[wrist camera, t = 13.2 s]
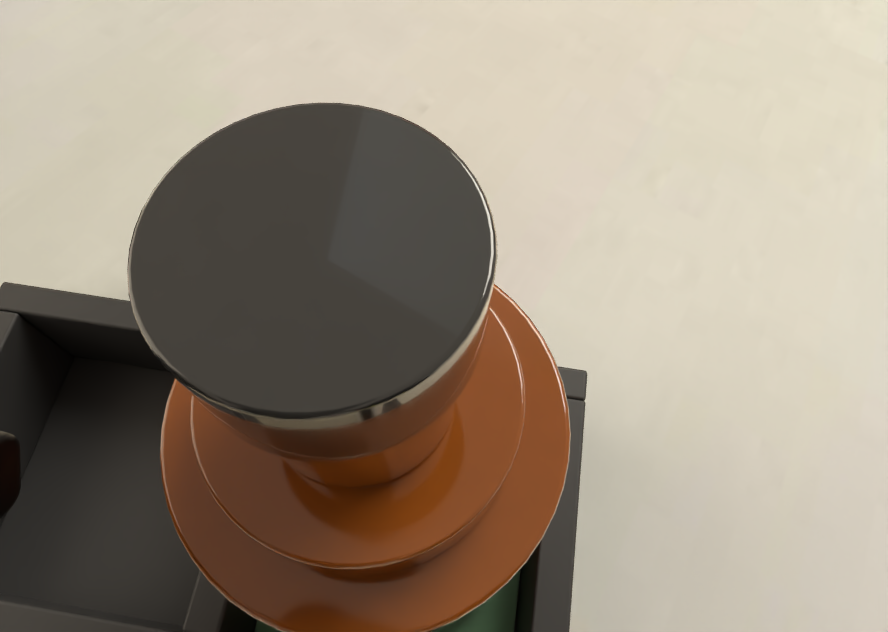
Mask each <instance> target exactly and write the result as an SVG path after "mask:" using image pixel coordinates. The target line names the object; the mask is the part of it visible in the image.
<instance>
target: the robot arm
mask: <svg viewBox="0 0 888 632" xmlns="http://www.w3.org/2000/svg"><path fill="white" fill-rule="evenodd" d="M20 489H21V458H20V442H19V440H18V438H17V437H16V436H14V435H13V434H10V433H7V432H3V431H0V520H1V519H2V518H3V516H4V515H5V514H6V513H7V512H8V511H9V510H10V509H11V507H12V506H13V505H14V503H15V502H16V500H17V498H18V496H19V493H20Z"/></svg>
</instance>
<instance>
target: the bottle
mask: <svg viewBox="0 0 888 632" xmlns="http://www.w3.org/2000/svg"><path fill="white" fill-rule="evenodd" d="M496 263H497V236H496V231H495V225H494V220H493V216H492V213H491V210H490V207H489V204H488V201H487V198H486V196H485V195H484V193H483V191H482V189H481V187H480V185H479V183H478V181H477V180H476V178H475V177H474V175H473V174H472V173H471V171H470V170H469V168H468V167H467V166H466V164H465V163H464V162H463V161H462V160H461V159H460V158H459V156H458V155H457V154H456V153H455V152H454V151H453V150H452V149H451V148H450V147H448V146H447V145H446V144H445V143H444V142H442V141H441V140H440V139H439V138H437V137H436V136H435V135H433V134H431V133H430V132H428V131H427V130H425V129H423V128H422V127H420V126H419V125H417V124H414V123H412V122H410V121H408V120H406V119H404V118H402V117H399V116H396V115H393V114H391V113H388V112H385V111H382V110H378V109H373V108H369V107H364V106H359V105H351V104H342V103H310V104H298V105H292V106H286V107H281V108H275V109H272V110H268V111H265V112H262V113H258V114H255V115H252V116H250V117H247V118H245V119H242V120H240V121H237V122H234V123H233V124H231V125H229V126H227V127H225V128H223V129H221V130H219V131H217V132H215V133H214V134H212V135H211V136H209V137H208V138H206V139H205V140H203V141H202V142H200V143H199V144H197V145H196V146H195V147H193V148H192V149H191V150H190V151H189V152H187V153H186V154H185V155H184V156H183V157H181V158H180V159H179V160H178V161H177V162H176V163H175V164H174V166H173V167H172V168H171V169H170V170H169V171H168V172H167V173H166V174H165V175H164V176H163V178H162V179H161V180H160V182H159V183H158V184H157V186H156V187H155V188H154V190H153V191H152V193H151V195H150V196H149V198H148V200H147V202H146V204H145V205H144V207H143V209H142V211H141V213H140V216H139V218H138V221H137V223H136V226H135V228H134V232H133V236H132V240H131V244H130V248H129V258H128V269H127V275H128V291H129V297H130V302H131V306H132V311H133V315H134V317H135V320H136V322H137V325H138V327H139V330H140V332H141V334H142V336H143V338H144V339H145V341H146V343H147V344H148V346H149V348H150V349H151V351H152V352H153V354H154V355H155V356H156V358H157V359H158V360H159V361H160V362H161V363H162V365H163V366H164V367H165V368H166V369H167V370H168V371H169V373H170V374H171V375H172V376H173V377H174V378H175V379H174V382H173V385H172V388H171V391H170V394H169V397H168V400H167V404H166V409H165V414H164V419H163V424H162V429H161V445H160V465H161V478H162V486H163V490H164V495H165V499H166V504H167V508H168V511H169V514H170V517H171V519H172V522H173V524H174V527H175V530H176V532H177V535H178V537H179V539H180V540H181V542H182V544H183V546H184V547H185V549H186V551H187V553H188V555H189V556H190V558H191V560H192V561H193V562H194V564H195V565H196V566H197V567H198V569H199V570H200V571H201V573H202V574H203V575H204V576H205V578H206V579H207V580H208V582H209V583H210V584H212V585H213V586H214V587H215V588H216V589H217V590H218V591H219V592H220V593H221V594H222V595H223V596H224V597H225V598H226V599H227V600H228V601H230V602H231V603H232V604H234V605H235V606H237V607H238V608H240V609H241V610H243V611H244V612H245V613H247V614H248V615H250V616H251V617H253V618H254V619H256V620H258V621H260V622H263V623H265V624H267V625H269V626H271V627H273V628H275V629H277V630H279V631H281V632H440V631H443V630H445V629H446V628H448V627H450V626H451V625H453V624H454V623H456V622H457V621H459V620H460V619H462V618H463V617H465V616H466V615H468V614H469V613H470V612H472V611H473V610H475V609H476V608H478V607H479V606H481V605H482V604H483V603H485V602H486V601H487V600H488V599H489V598H491V597H492V596H493V595H494V594H495V593H497V592H498V591H499V590H500V589H501V588H503V587H504V586H505V585H506V584H507V583H508V582H509V581H510V580H511V579H512V578H513V576H514V575H515V574H516V573H517V572H518V571H519V570H520V569H521V568H522V566H523V565H524V564H525V563H526V562H527V560H528V559H529V557H530V556H531V555H532V553H533V552H534V550H535V549H536V547H537V546H538V544H539V543H540V541H541V540H542V538H543V536H544V534H545V532H546V530H547V528H548V526H549V524H550V522H551V520H552V518H553V516H554V514H555V512H556V509H557V506H558V503H559V500H560V497H561V494H562V491H563V488H564V484H565V479H566V474H567V469H568V464H569V454H570V437H571V433H570V420H569V408H568V403H567V398H566V394H565V389H564V384H563V381H562V379H561V376H560V373H559V370H558V367H557V365H556V362H555V360H554V358H553V356H552V354H551V352H550V350H549V348H548V346H547V344H546V342H545V340H544V338H543V337H542V335H541V334H540V332H539V331H538V330H537V328H536V327H535V325H534V324H533V322H532V321H531V319H530V318H529V317H528V316H527V315H526V314H525V313H524V312H523V310H522V309H521V308H520V307H519V306H518V305H517V304H516V303H515V301H514V300H512V299H511V298H510V297H509V296H508V295H507V294H506V293H504V292H503V291H502V290H501V289H500V288H499V287H498V286H496V285H495V284H494V279H495V272H496Z"/></svg>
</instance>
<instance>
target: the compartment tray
mask: <svg viewBox="0 0 888 632" xmlns="http://www.w3.org/2000/svg"><path fill="white" fill-rule="evenodd" d="M558 370H559V373H560V376H561V379H562V381H563V384H564V389H565V394H566V398H567V403H568V408H569V420H570V433H571V437H570V454H569V464H568V469H567V474H566V479H565V484H564V488H563V491H562V494H561V497H560V500H559V503H558V506H557V509H556V512H555V514H554V516H553V518H552V520H551V522H550V524H549V526H548V528H547V530H546V532H545V534H544V536H543V538H542V540H541V541H540V543H539V544H538V546H537V547H536V549H535V550H534V552H533V553H532V555H531V556H530V557H529V559H528V560H527V562H526V563H525V564H524V565H523V566H522V568H521V569H520V570H519V571H518V572H517V573H516V574H515V575H514V576H513V578H512V579H511V580H510V581H509V582H508V583H507V584H506V585H505V586H504V587H503V588H501V589H500V590H499V591H498V592H497V593H495V594H494V595H493V596H492V597H491V598H489V599H488V600H487V601H486V602H485V603H483V604H482V605H481V606H479V607H478V608H476V609H475V610H473V611H472V612H470V613H469V614H468V615H466V616H465V617H463V618H462V619H460V620H459V621H457V622H456V623H454V624H453V625H451V626H450V627H448V628H446V629H445V630H443V631H440V632H569V626H570V612H571V598H572V584H573V570H574V556H575V542H576V528H577V514H578V499H579V485H580V471H581V457H582V443H583V429H584V415H585V402H584V400H585V398H586V384H587V372H586V371H583V370H577V369H570V368H564V367H558ZM174 379H175V378H174V377H173V376H172V375H171V374H170V373H169V371H168V370H167V369H166V368H165V367H164V366H163V365H162V363H161V362H160V361H159V360H158V359H157V358H156V356H155V355H154V354H153V352H152V351H151V349H150V348H149V346H148V344H147V343H146V341H145V339H144V338H143V336H142V334H141V332H140V330H139V327H138V325H137V322H136V320H135V317H134V315H133V311H132V306H131V302H130V301H125V300H119V299H112V298H106V297H99V296H93V295H86V294H80V293H73V292H66V291H60V290H53V289H47V288H40V287H34V286H27V285H21V284H14V283H8V282H4V283H3V284H2V285H1V287H0V431H3V432H7V433H10V434H13V435H14V436H16V437H17V438H18V440H19V442H20V458H21V489H20V493H19V496H18V498H17V500H16V502H15V503H14V505H13V506H12V507H11V509H10V510H9V511H8V512H7V513H6V514H5V515H4V516H3V518H2V519H1V520H0V632H281V631H279V630H277V629H275V628H273V627H271V626H269V625H267V624H265V623H263V622H260V621H258V620H256V619H254V618H253V617H251V616H250V615H248V614H247V613H245V612H244V611H243V610H241V609H240V608H238V607H237V606H235V605H234V604H232V603H231V602H230V601H228V600H227V599H226V598H225V597H224V596H223V595H222V594H221V593H220V592H219V591H218V590H217V589H216V588H215V587H214V586H213V585H212V584H210V583H209V582H208V580H207V579H206V578H205V576H204V575H203V574H202V573H201V571H200V570H199V569H198V567H197V566H196V565H195V564H194V562H193V561H192V560H191V558H190V556H189V555H188V553H187V551H186V549H185V547H184V546H183V544H182V542H181V540H180V539H179V537H178V535H177V532H176V530H175V527H174V524H173V522H172V519H171V517H170V514H169V511H168V508H167V504H166V499H165V495H164V490H163V486H162V478H161V465H160V445H161V429H162V424H163V419H164V414H165V409H166V404H167V400H168V397H169V394H170V391H171V388H172V385H173V382H174Z"/></svg>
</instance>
